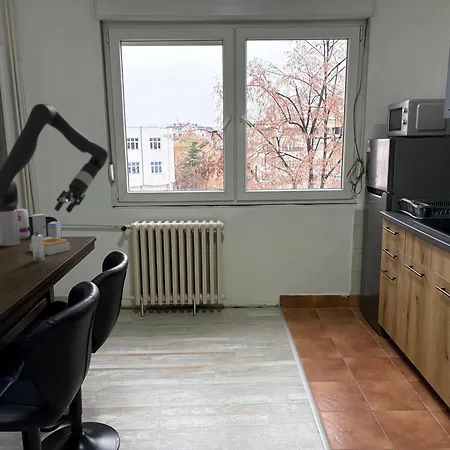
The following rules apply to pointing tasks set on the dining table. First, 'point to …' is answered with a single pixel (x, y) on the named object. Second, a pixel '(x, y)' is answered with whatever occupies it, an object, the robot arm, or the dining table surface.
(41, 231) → the skincare box
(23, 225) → the supplement can
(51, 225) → the medicine box
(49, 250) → the bottle holder tray
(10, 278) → the dining table surface
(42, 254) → the grey tall cylinder
